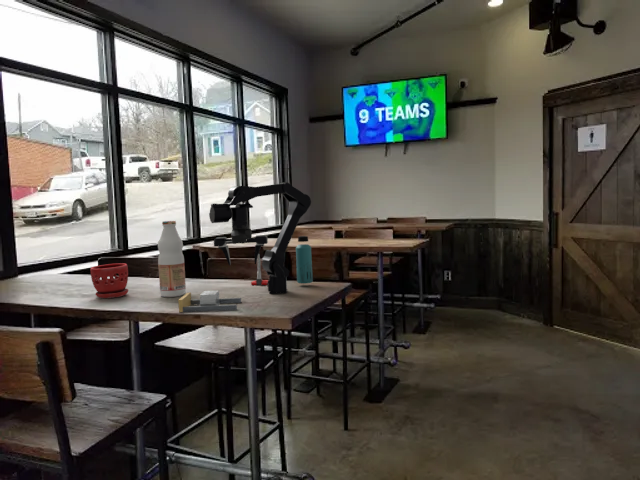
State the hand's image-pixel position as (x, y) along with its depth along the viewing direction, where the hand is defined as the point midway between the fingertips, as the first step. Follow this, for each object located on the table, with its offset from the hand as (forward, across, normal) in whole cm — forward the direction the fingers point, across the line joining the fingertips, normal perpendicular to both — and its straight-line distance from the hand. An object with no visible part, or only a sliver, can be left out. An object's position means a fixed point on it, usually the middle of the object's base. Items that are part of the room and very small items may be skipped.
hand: (242, 264), depth 181 cm
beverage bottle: (+12, +22, +18) cm, 31 cm away
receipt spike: (+12, +4, +28) cm, 31 cm away
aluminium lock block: (+12, -10, -15) cm, 22 cm away
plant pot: (+11, -52, +12) cm, 54 cm away
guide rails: (+12, -9, -15) cm, 21 cm away
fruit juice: (+12, -28, +10) cm, 32 cm away
